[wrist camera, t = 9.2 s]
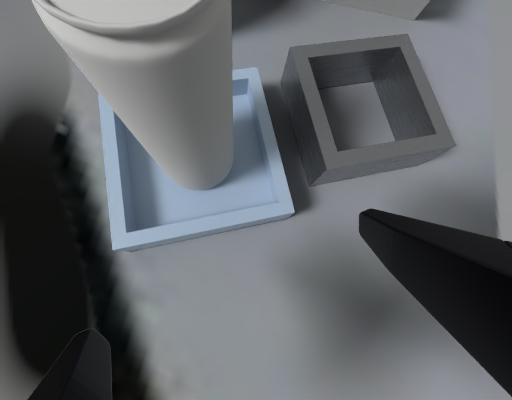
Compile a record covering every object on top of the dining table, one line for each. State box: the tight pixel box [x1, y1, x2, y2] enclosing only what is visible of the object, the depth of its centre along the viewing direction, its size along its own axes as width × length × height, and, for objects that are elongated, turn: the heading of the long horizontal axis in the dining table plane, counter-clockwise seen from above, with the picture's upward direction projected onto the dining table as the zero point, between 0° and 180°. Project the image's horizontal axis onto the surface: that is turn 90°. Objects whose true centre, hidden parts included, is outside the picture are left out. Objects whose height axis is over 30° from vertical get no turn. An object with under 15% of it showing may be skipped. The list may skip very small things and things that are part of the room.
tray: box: [98, 67, 295, 252], centre depth 17 cm, size 11×11×2 cm
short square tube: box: [281, 34, 456, 186], centre depth 18 cm, size 9×9×4 cm
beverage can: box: [32, 0, 234, 190], centre depth 11 cm, size 5×5×12 cm
